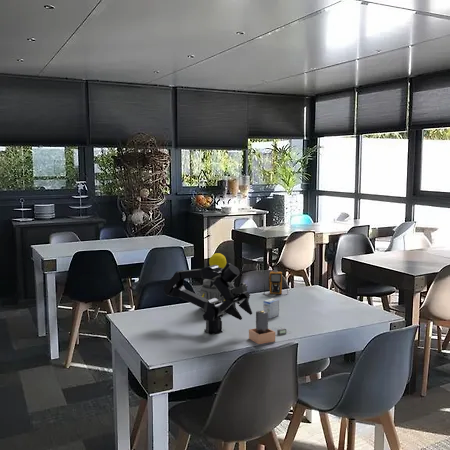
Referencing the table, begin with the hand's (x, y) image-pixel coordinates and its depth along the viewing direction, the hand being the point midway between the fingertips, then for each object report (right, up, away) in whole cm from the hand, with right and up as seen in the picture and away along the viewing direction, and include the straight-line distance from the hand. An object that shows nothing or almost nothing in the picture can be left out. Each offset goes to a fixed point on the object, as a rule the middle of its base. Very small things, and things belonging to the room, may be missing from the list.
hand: (246, 316), depth 214 cm
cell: (+6, -9, -3) cm, 12 cm away
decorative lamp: (-13, -5, +49) cm, 51 cm away
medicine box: (+14, -7, +33) cm, 37 cm away
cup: (+6, -10, -3) cm, 12 cm away
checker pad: (+14, -9, +9) cm, 19 cm away
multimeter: (+21, -2, +79) cm, 82 cm away
